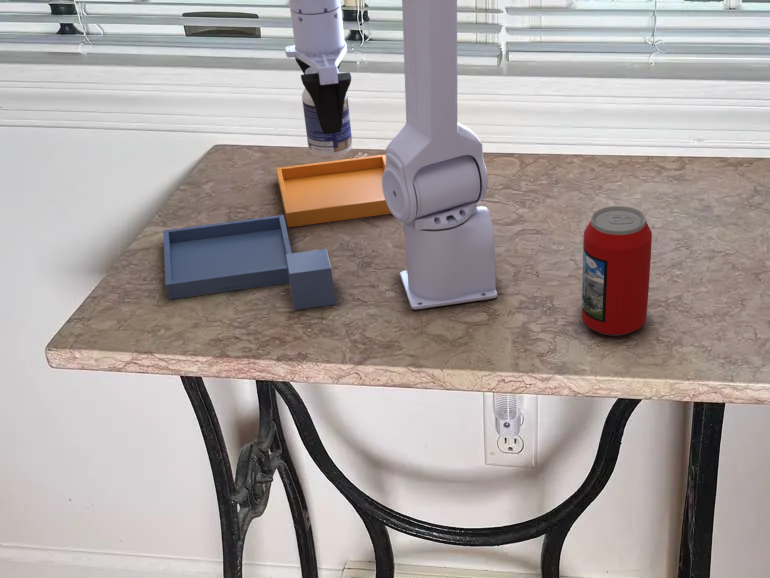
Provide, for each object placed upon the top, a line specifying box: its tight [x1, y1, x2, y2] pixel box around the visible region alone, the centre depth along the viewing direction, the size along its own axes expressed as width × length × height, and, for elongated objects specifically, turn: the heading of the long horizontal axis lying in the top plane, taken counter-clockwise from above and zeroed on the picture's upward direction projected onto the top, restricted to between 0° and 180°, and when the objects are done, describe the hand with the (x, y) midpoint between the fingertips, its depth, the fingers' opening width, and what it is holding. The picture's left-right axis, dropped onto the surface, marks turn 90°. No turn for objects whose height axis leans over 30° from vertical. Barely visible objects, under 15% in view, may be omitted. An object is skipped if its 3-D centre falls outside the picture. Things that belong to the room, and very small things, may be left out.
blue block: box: [285, 248, 337, 311], centre depth 129 cm, size 4×4×4 cm
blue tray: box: [162, 214, 292, 300], centre depth 136 cm, size 14×13×2 cm
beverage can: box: [581, 205, 653, 337], centre depth 120 cm, size 7×7×12 cm
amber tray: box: [275, 153, 393, 228], centre depth 149 cm, size 14×13×2 cm
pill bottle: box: [301, 67, 353, 158], centre depth 142 cm, size 5×5×10 cm
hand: (328, 122), depth 143 cm, fingers closed on pill bottle, 5 cm apart
